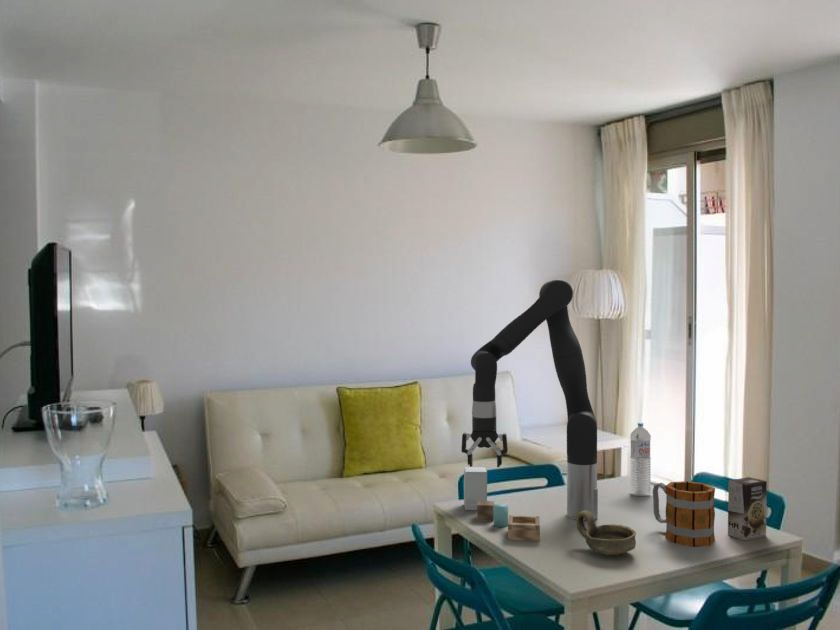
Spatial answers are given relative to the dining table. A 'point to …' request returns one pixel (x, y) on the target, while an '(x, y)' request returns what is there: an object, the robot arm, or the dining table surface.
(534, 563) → the dining table surface
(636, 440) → the water bottle
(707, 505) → the mug
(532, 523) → the oak base
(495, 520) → the teal cylinder
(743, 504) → the coffee box
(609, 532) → the bowl
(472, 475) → the supplement box
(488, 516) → the walnut block
